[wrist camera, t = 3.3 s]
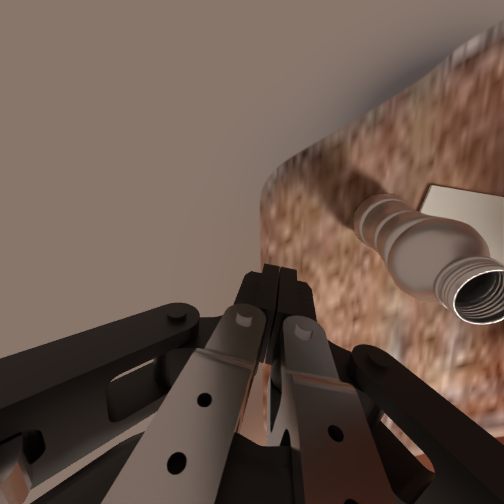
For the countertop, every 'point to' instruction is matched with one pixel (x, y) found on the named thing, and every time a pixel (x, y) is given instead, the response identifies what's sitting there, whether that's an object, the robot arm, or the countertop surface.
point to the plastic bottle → (434, 258)
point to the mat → (470, 213)
